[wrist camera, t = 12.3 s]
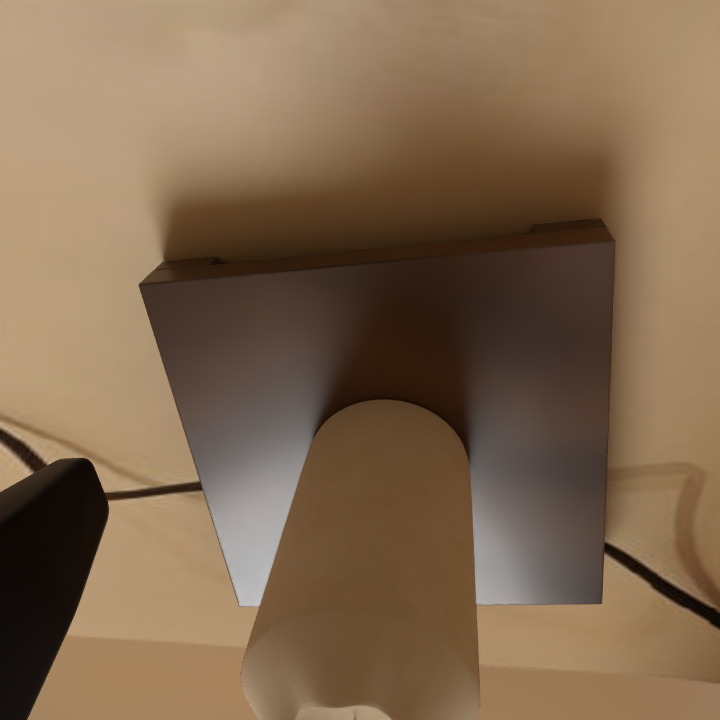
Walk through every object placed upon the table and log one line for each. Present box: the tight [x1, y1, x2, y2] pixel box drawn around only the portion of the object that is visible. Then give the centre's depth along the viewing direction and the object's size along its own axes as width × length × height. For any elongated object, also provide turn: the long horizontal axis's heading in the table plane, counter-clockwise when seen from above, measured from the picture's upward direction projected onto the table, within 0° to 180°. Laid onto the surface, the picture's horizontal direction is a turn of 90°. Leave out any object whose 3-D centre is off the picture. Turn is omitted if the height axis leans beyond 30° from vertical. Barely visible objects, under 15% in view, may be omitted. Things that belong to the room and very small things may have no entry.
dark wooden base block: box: [139, 219, 616, 607], centre depth 24 cm, size 14×14×2 cm
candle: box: [241, 400, 480, 720], centre depth 19 cm, size 6×6×10 cm
